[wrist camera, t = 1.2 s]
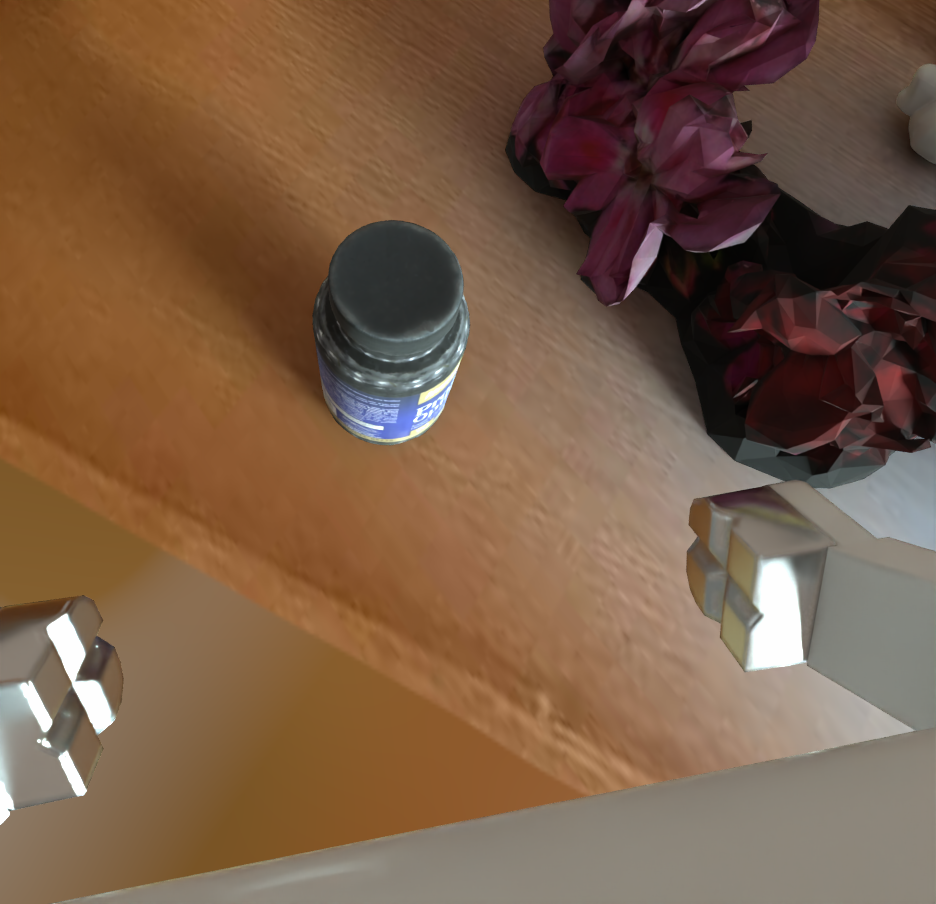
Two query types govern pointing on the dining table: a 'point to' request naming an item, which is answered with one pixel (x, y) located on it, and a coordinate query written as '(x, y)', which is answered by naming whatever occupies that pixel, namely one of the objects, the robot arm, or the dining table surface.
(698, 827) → the robot arm
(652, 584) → the dining table surface
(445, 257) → the pill bottle
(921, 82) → the grey figurine
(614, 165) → the flower arrangement
